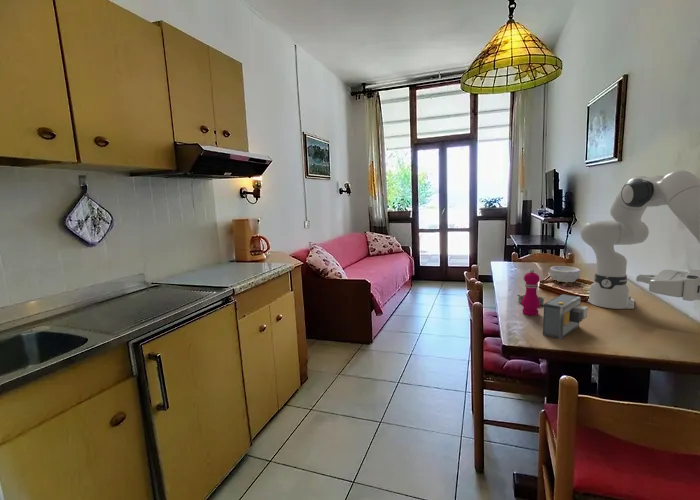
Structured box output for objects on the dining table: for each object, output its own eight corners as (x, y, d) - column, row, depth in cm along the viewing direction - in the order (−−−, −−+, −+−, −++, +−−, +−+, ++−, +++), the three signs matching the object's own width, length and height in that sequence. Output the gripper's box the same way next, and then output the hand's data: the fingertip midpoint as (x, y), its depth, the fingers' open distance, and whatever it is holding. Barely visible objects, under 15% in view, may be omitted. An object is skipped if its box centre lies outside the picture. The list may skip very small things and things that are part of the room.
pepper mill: (541, 316, 154) (543, 270, 152) (523, 315, 156) (525, 270, 153) (536, 311, 161) (538, 267, 158) (519, 310, 163) (520, 267, 160)
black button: (570, 318, 137) (570, 308, 136) (582, 320, 134) (582, 310, 133) (566, 320, 135) (567, 310, 134) (578, 323, 132) (579, 312, 131)
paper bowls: (576, 286, 200) (577, 272, 198) (546, 282, 210) (546, 269, 209) (582, 280, 211) (582, 267, 209) (553, 277, 221) (553, 264, 220)
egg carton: (515, 302, 176) (516, 294, 175) (525, 299, 179) (525, 291, 179) (536, 307, 167) (536, 299, 166) (546, 304, 170) (546, 296, 170)
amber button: (557, 320, 136) (557, 310, 135) (569, 322, 132) (569, 312, 132) (553, 322, 133) (554, 312, 133) (565, 325, 130) (566, 314, 130)
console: (561, 322, 147) (562, 292, 145) (579, 326, 142) (580, 295, 140) (542, 334, 135) (544, 302, 133) (561, 339, 130) (563, 305, 128)
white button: (575, 314, 141) (575, 304, 140) (587, 317, 138) (587, 307, 137) (572, 316, 138) (572, 306, 138) (583, 319, 135) (584, 309, 135)
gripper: (701, 268, 112) (645, 263, 123) (691, 280, 99) (630, 273, 110) (699, 287, 113) (644, 281, 124) (689, 302, 100) (628, 293, 111)
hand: (637, 277), depth 117 cm, fingers closed
